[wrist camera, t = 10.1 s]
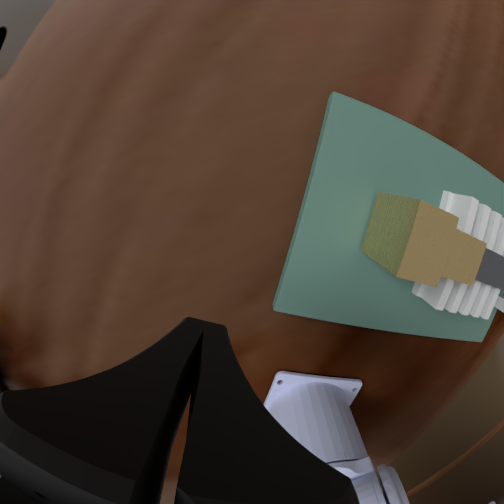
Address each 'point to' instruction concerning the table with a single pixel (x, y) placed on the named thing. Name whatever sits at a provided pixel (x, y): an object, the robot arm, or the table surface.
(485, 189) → the board
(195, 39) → the table surface
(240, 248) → the table surface
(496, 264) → the strap
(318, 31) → the table surface
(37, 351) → the table surface
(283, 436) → the robot arm
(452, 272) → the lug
